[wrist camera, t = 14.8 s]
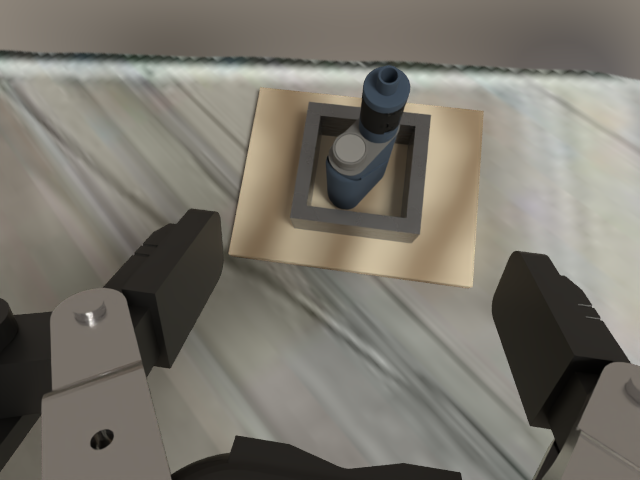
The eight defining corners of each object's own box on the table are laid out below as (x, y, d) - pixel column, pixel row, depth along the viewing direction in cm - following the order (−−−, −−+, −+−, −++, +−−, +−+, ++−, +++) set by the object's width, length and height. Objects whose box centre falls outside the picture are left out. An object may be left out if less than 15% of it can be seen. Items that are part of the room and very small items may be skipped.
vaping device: (392, 170, 30) (427, 73, 19) (346, 219, 30) (353, 150, 18) (366, 149, 31) (386, 42, 19) (321, 197, 30) (312, 116, 19)
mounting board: (231, 256, 31) (228, 253, 30) (262, 94, 33) (260, 87, 32) (467, 288, 29) (472, 287, 28) (479, 117, 32) (483, 111, 31)
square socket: (294, 228, 30) (289, 217, 27) (311, 122, 32) (308, 101, 29) (411, 243, 29) (419, 234, 26) (421, 134, 31) (431, 114, 28)
